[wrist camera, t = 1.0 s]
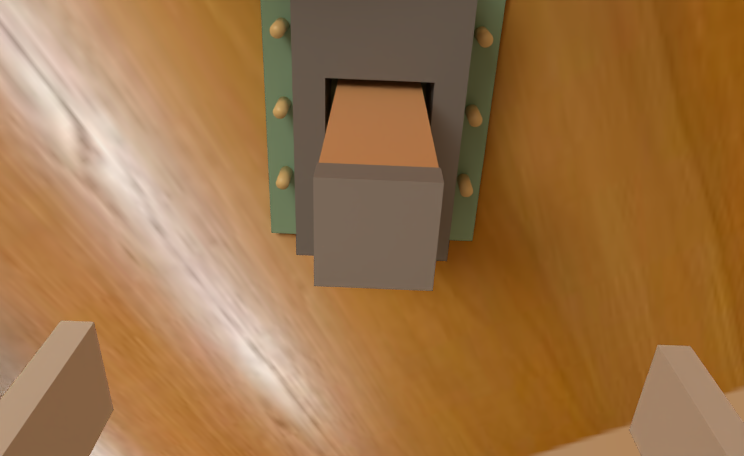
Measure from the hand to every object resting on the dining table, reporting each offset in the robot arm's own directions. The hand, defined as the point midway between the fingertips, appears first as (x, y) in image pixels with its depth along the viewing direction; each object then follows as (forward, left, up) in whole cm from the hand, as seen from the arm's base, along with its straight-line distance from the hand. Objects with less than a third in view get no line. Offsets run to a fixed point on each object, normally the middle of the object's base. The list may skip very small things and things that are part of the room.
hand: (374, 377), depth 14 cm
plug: (0, 0, -20) cm, 20 cm away
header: (0, 0, -21) cm, 21 cm away
